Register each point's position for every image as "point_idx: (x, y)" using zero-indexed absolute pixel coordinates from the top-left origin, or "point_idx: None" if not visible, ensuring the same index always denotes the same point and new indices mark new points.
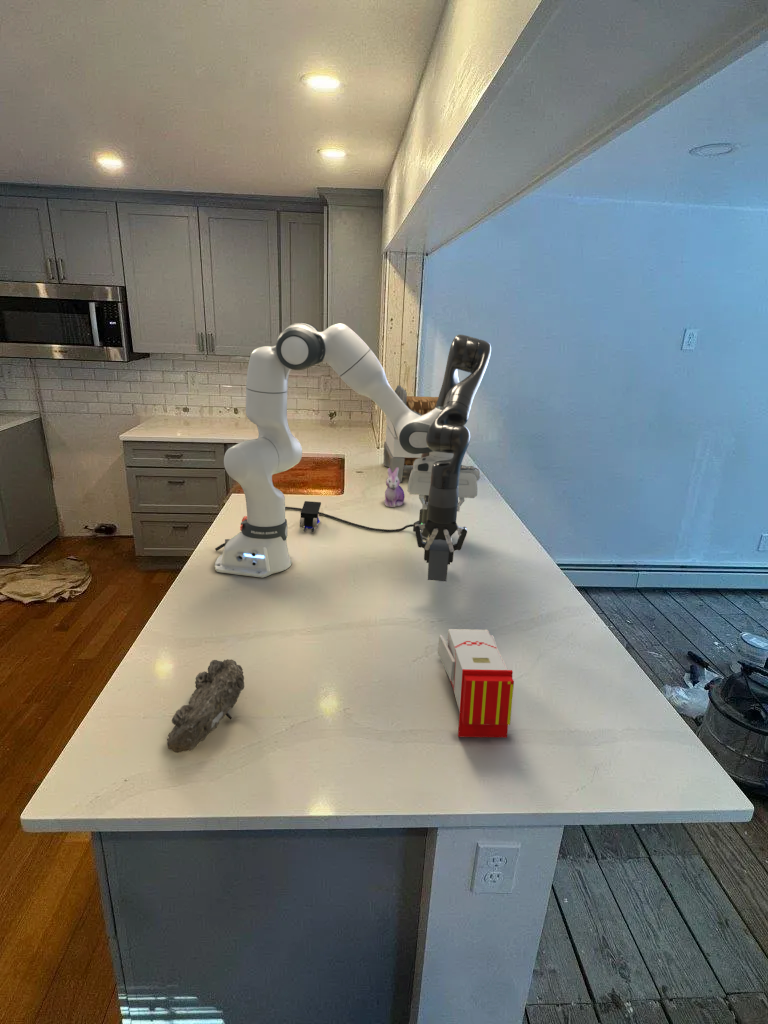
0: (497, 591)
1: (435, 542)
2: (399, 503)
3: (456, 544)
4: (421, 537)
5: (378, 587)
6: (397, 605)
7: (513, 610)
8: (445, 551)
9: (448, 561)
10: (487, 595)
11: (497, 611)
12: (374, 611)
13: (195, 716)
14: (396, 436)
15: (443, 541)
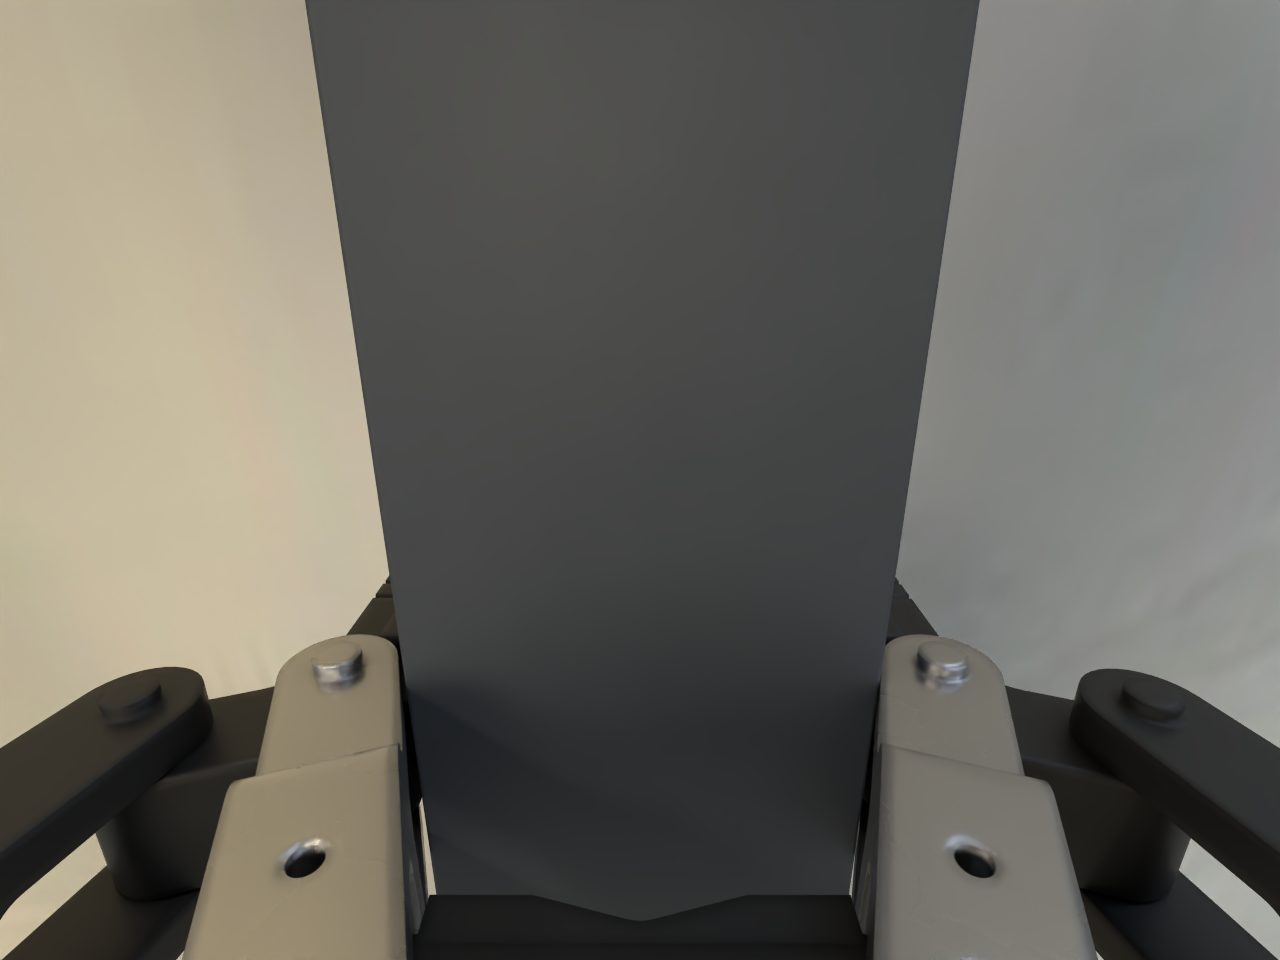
0: (1252, 85)
1: (533, 586)
2: None
3: (1092, 811)
4: (41, 867)
5: (122, 217)
6: (362, 499)
7: (1253, 429)
8: None
9: None
10: (1122, 196)
11: (1117, 464)
12: (227, 602)
13: None
14: None
15: (759, 477)
